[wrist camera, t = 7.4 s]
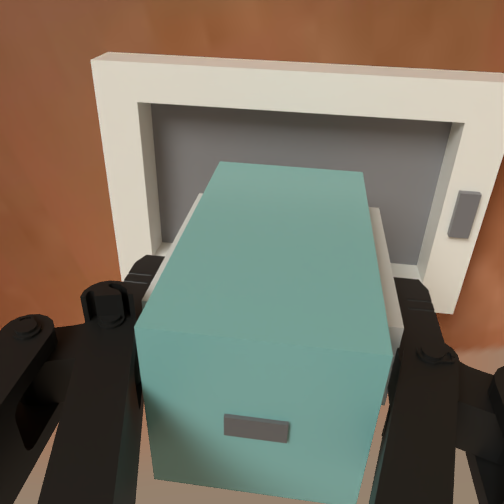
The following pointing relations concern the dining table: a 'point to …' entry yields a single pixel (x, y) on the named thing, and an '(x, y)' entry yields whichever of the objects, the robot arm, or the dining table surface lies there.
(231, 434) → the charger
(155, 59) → the white shallow tray
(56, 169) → the dining table surface
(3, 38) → the dining table surface
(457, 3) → the dining table surface
